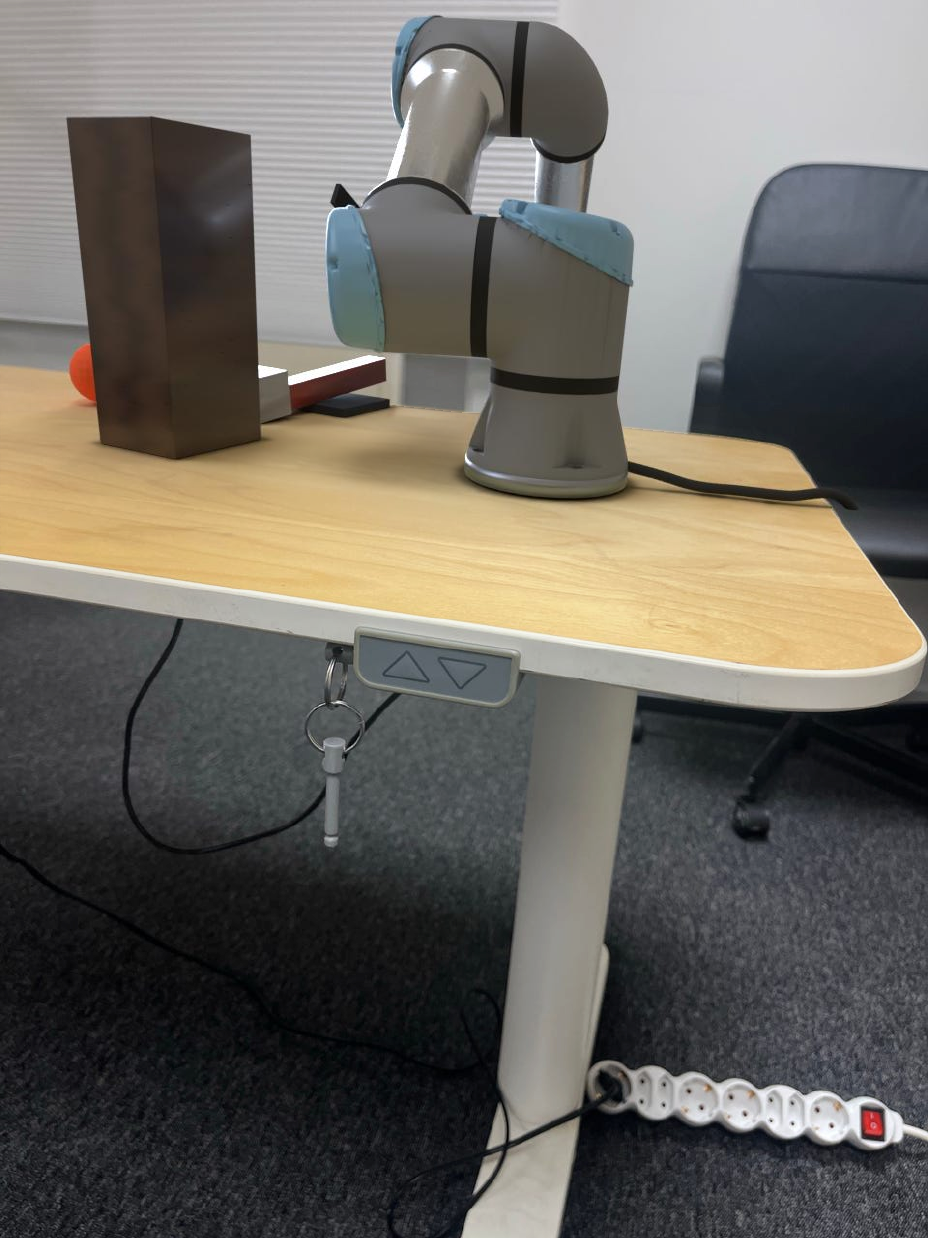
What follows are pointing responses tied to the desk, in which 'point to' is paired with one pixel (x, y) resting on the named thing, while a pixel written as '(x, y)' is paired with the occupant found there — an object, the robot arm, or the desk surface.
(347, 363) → the hammer
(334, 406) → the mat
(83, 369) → the clementine
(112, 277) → the tall post
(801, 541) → the desk surface
